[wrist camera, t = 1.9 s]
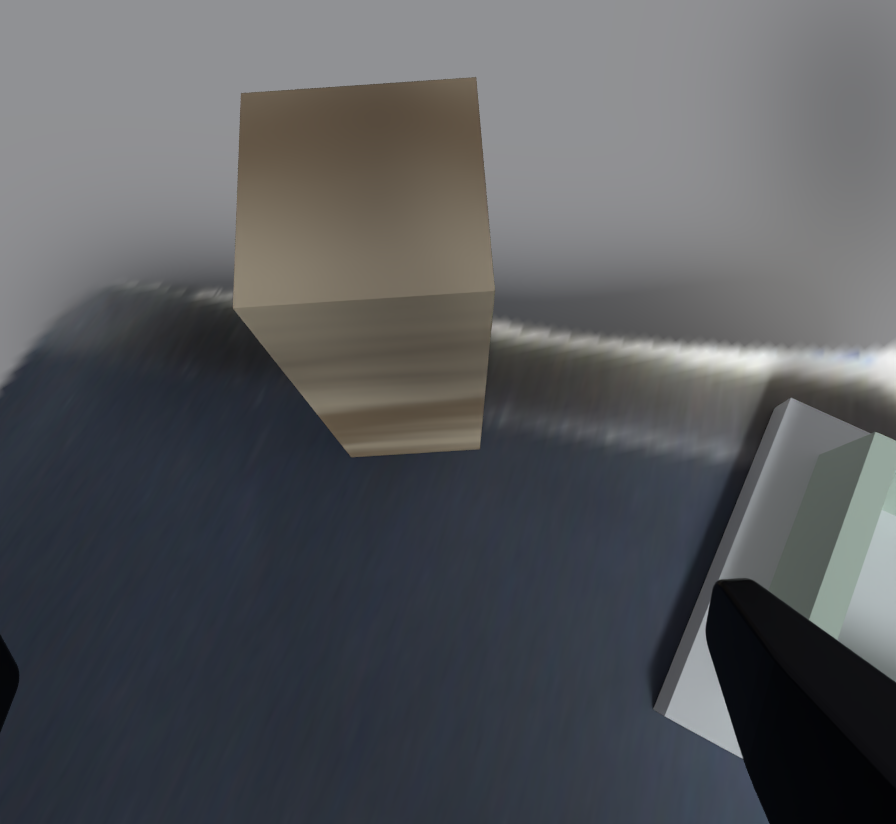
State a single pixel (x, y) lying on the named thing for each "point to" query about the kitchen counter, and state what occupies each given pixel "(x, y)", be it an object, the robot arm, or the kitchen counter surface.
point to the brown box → (370, 257)
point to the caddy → (801, 553)
